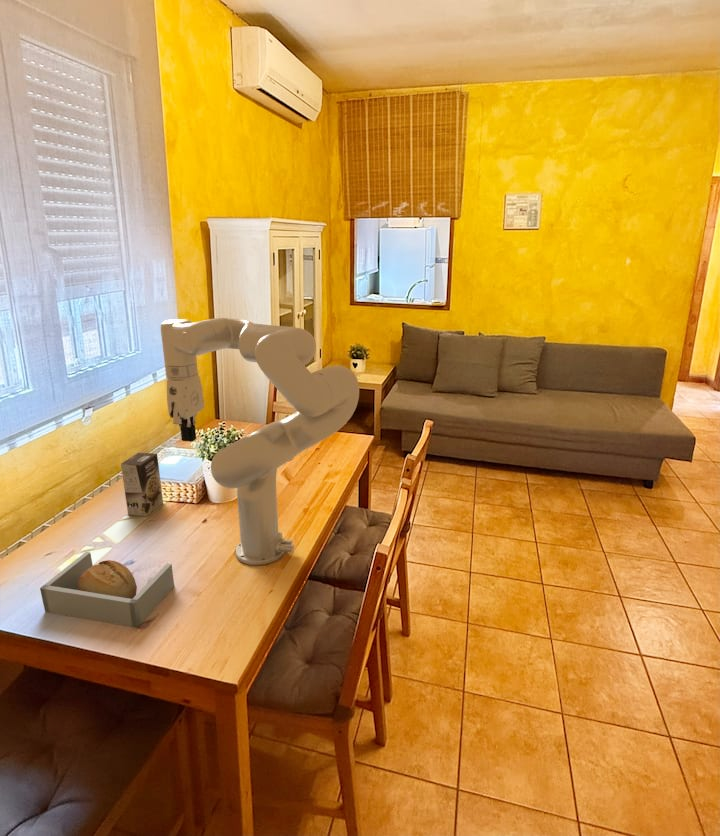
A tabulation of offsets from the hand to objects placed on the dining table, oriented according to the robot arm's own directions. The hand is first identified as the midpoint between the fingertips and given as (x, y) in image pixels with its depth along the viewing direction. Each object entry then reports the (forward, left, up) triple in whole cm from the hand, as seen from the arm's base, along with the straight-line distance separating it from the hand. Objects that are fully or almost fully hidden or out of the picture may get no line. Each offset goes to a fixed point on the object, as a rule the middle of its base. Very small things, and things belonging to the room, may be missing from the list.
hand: (189, 440), depth 139 cm
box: (+5, +29, -27) cm, 40 cm away
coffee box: (+22, -9, -27) cm, 36 cm away
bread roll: (+6, +30, -27) cm, 41 cm away
